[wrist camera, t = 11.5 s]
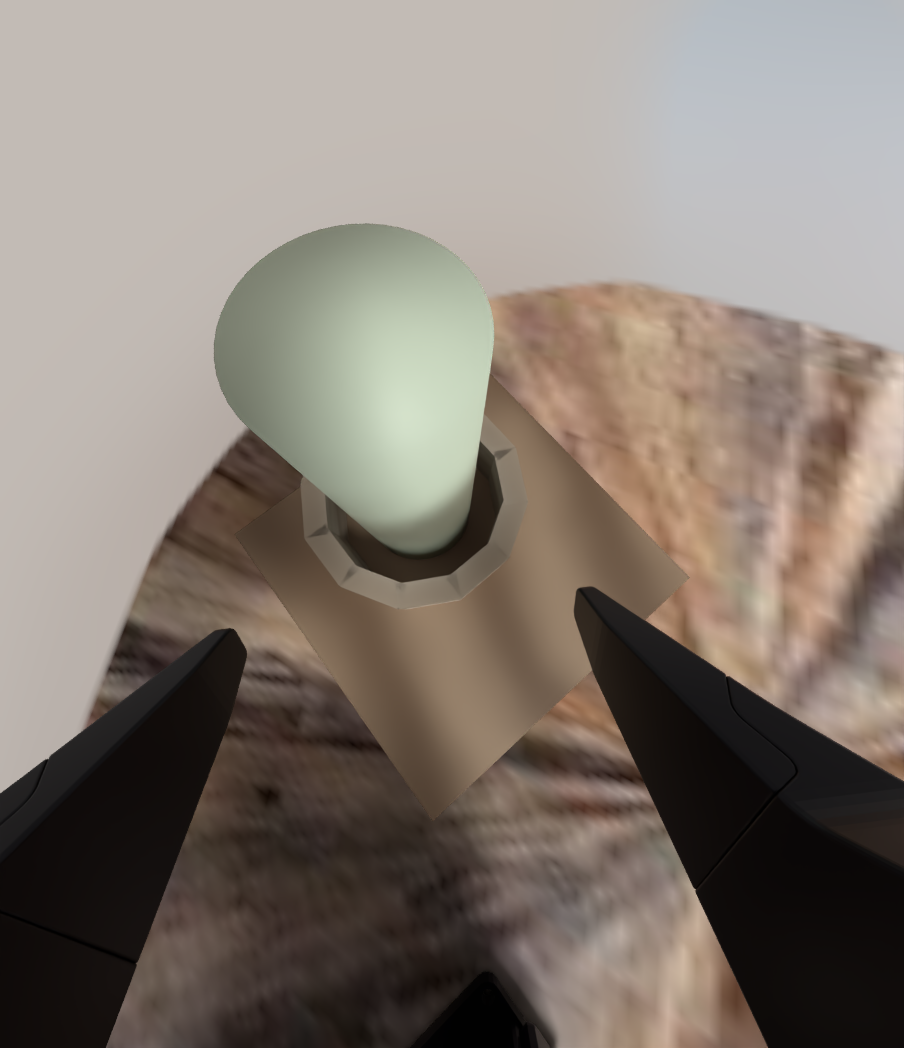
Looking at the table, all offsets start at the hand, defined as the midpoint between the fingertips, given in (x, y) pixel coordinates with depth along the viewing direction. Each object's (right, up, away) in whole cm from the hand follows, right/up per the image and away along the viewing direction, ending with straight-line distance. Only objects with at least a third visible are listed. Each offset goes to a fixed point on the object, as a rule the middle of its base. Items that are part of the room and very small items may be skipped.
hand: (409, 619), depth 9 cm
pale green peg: (0, +3, +9) cm, 9 cm away
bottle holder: (+1, +1, +9) cm, 9 cm away
